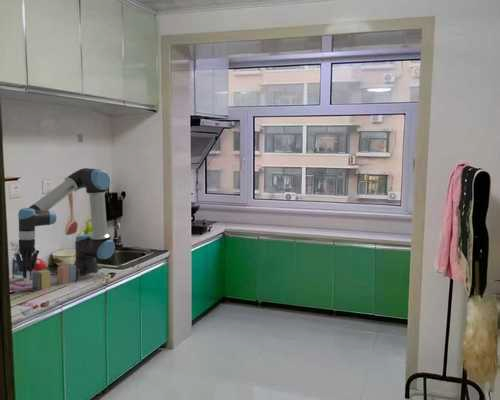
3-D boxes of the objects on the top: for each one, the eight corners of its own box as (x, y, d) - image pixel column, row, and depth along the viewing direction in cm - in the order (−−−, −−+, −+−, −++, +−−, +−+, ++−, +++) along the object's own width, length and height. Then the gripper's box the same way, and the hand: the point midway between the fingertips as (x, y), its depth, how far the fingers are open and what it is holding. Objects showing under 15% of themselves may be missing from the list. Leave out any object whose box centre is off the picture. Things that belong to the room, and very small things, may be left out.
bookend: (34, 288, 250) (34, 271, 249) (39, 290, 247) (39, 273, 246) (28, 289, 247) (27, 273, 246) (33, 291, 244) (33, 274, 243)
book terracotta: (63, 281, 265) (63, 265, 264) (69, 282, 263) (69, 267, 262) (57, 282, 262) (57, 266, 261) (63, 284, 259) (63, 268, 259)
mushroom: (27, 276, 275) (26, 256, 274) (47, 275, 279) (47, 255, 278) (25, 281, 266) (25, 260, 264) (46, 280, 269) (46, 260, 268)
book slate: (70, 279, 269) (70, 264, 268) (76, 281, 267) (76, 265, 266) (64, 280, 266) (64, 265, 265) (70, 282, 263) (70, 266, 262)
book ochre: (37, 288, 251) (37, 271, 250) (45, 285, 255) (45, 269, 254) (41, 289, 249) (41, 272, 248) (50, 287, 253) (50, 271, 252)
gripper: (34, 236, 248) (33, 279, 251) (10, 239, 237) (10, 284, 240) (42, 238, 245) (42, 282, 247) (19, 241, 233) (19, 287, 236)
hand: (26, 283), depth 243 cm, fingers closed
